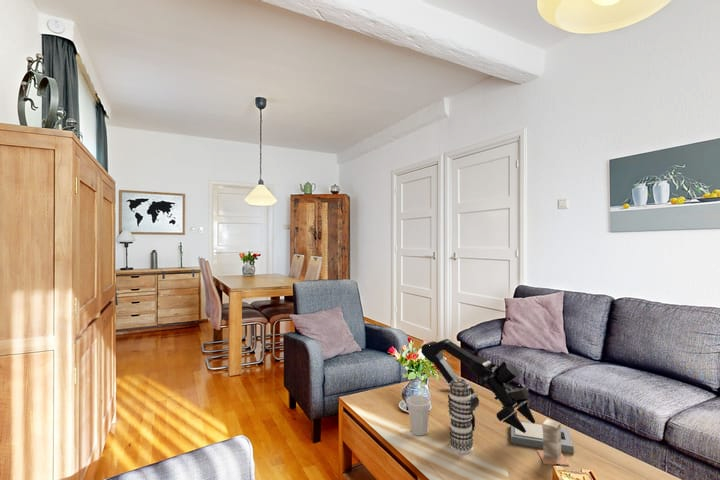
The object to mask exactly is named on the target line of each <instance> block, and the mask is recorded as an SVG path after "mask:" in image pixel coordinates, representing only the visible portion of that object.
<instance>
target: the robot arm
mask: <svg viewBox="0 0 720 480" xmlns="http://www.w3.org/2000/svg"><path fill="white" fill-rule="evenodd" d="M429 345H430V346H429ZM443 351H445V352H446V353H448V354H449V355H450V356H452V357H454V358H456V360H459V361H460V362H461V363H464V364H465V365H466V366H468V368H469V370H470V371H471V372H472V373H473V374H474V375H475V376H477V377H479V378H482V379H481V387H485V385H487V387H488V388H489V389H490V391H491V392H492V393H493V394H494V396H495V397H494V399H495V401H497V400H498V401H499V402H500V404H501V405H502V407H501V408H502V409H500V410H499V411H498V412H497V413H496V418H497V420H498V421H499V422H502V423H505V424H507V425H509V426H510V427H511V426H513V427H515V428H516V429H518V430H520V431H521V432H523V433H525V432H526V430H525V428H524V427H523V425H522V424H521V422H520V419H519V418H518V413H520V414H521V415H522V416H523V417H525V419H527V421H529V423H533V424H534V423H536V420H535V418H534V415H533V413H532V412H531V409H530V401H531V400H530V398H531V397H530V394H529V388H528V387H527V386H526V385H525V384H524V383H519V384H518V385H517V388H514V389H513V388H512V387H511V386H507V385H508V384H509V383H510V382H512V381H513V380H515V379H516V378H517V377H519V375H520V372H519V369H518V368H517V367H516V366H515V365H514V364H513V363H510V362H508V361H507V360H504V361H502V363H500V365H498V364H495V363H493V362H492V361H491V360H488V359H486V358H484V357H481V356H477V355H474V354H473V353H470V352H469V351H467V350H466V349H464V348H463V347H460V346H459V345H457V344H456V343H454V342H452V341H451V340H450V339H448V338H445V339H443V340H440V341H433V340H432V341H429V342H427V343H424V344H423V345H422V346H421V351H420V352H421V354H422V356H423V357H424V358H425V359H426V360H427V361H429V362H430V363H432V364H434V366H435V367H436V368H437V370H438V371H439V373H440V374H441V376H442V377H443V378H444V380H445V381H446V382H448V384H449V383H451V382H452V380H454V379H460V378H459V377H458V376H457V374H456V373H455V372H454V370H453V369H452V367H451V366H450V364H449V363H448V362H447V361H446V359H445V358H444V353H443ZM486 376H487V377H486ZM470 393H471V396H472V397H473V400H472V401H473V404H472V405H471V406H472V407H473V409H472V411H475V410H476V409H477V407H479V405H480V400H479V396H478V394H477V393H476V392H475V391H474V389H473V387H470ZM470 400H471V399H470ZM515 408H516V411H515ZM517 412H518V413H517ZM471 415H472V419H471V424H472V430H473V431H475V427H476V418H475V414H474V413H473V414H471Z"/></svg>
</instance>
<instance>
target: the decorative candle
mask: <svg viewBox="0 0 720 480" xmlns="http://www.w3.org/2000/svg"><path fill="white" fill-rule="evenodd" d="M449 386H450V387H449ZM449 386H448V387H449V394H447V398H448V400H447V403H448V405H447V406H448V412H449V418H450V426H449V444H450V446H449V447H450V449H451V450H452V451H454V452H455V453H458V454H462V455H463V454H470V453H472V452H473V450H474V439H473V437H474V434H473V430H472V424H471V419H472V415H471V414H474V412H473V411H472V409H473V407H472V406H471V405H472V404H473V401H472V400H473V397H472V396H471V393H470V388H472V385H471V383H469V382H468V380H465V379H463V378H459V379H454V380H452V382H451V383H449ZM470 399H471V400H470Z"/></svg>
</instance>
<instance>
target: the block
mask: <svg viewBox="0 0 720 480" xmlns="http://www.w3.org/2000/svg"><path fill="white" fill-rule="evenodd" d="M542 424H543V448H542V450H543V455H544V458H547V459H549V460H552V461H555V462H558V461H559V459H560V458H561V453H562V451H561V439H562V438H561V427H562V426H561V422H558V421H554V420H551V419H548V418H547V419H545V421H543V423H542Z"/></svg>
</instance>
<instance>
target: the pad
mask: <svg viewBox="0 0 720 480" xmlns="http://www.w3.org/2000/svg"><path fill="white" fill-rule="evenodd" d="M536 452H537V454H538V455H539V458H540V459H541V461H542V463H543V465H550V466H555V465H554V464H561V465H560V466H563V465H570V464H569V462H568V461H567V459H566V458H565V456H564V454H563V453H562V452H561V458H560V459H559V461H558V462H555V461H552V460H549V459H547V458H544V455H543V449H537V450H536Z"/></svg>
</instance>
